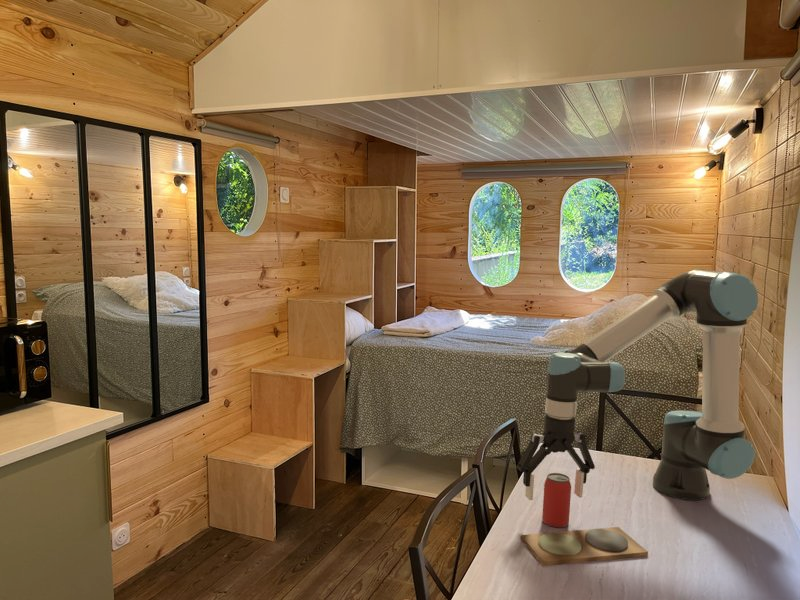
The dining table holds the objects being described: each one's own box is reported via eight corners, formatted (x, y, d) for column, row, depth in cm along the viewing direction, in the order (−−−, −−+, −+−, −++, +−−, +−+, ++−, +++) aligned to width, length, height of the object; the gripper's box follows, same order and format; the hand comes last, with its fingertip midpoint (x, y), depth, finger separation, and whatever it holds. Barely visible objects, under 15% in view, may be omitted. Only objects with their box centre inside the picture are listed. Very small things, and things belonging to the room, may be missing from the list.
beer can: (569, 530, 152) (572, 483, 150) (542, 526, 153) (545, 480, 152) (567, 518, 158) (570, 473, 157) (541, 515, 159) (544, 470, 158)
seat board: (618, 530, 152) (618, 524, 152) (647, 555, 140) (648, 549, 140) (520, 539, 146) (521, 532, 146) (543, 566, 135) (543, 559, 134)
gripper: (597, 409, 159) (590, 488, 161) (507, 411, 153) (501, 492, 156) (613, 418, 152) (606, 500, 154) (519, 420, 146) (513, 505, 148)
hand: (553, 496), depth 155 cm, fingers open, 13 cm apart
